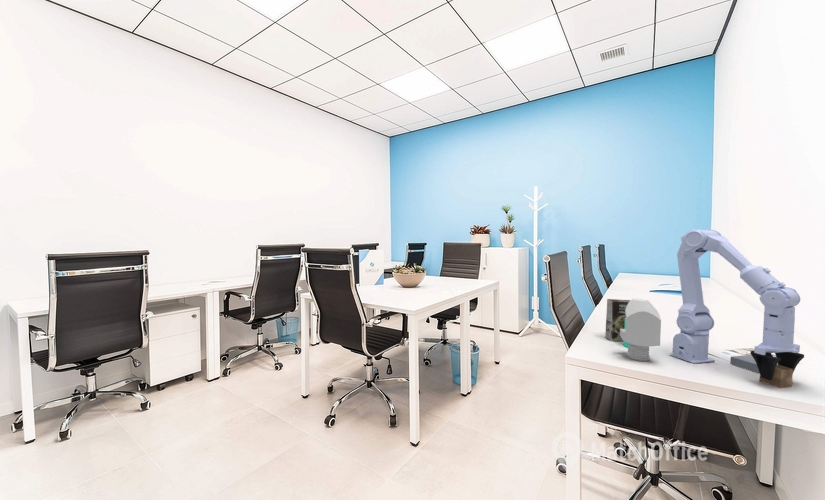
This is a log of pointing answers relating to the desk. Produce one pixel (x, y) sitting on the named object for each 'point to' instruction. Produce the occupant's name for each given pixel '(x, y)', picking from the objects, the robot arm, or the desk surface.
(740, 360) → the plinth
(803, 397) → the desk surface
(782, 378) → the block
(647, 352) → the light fixture
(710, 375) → the desk surface
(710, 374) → the desk surface
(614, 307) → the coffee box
